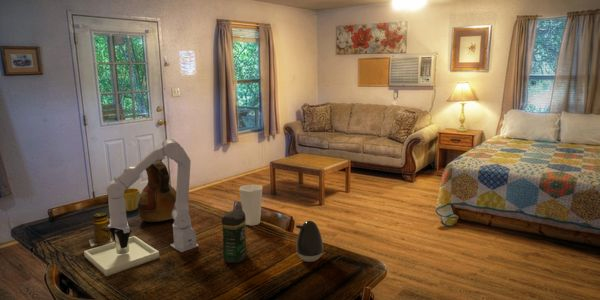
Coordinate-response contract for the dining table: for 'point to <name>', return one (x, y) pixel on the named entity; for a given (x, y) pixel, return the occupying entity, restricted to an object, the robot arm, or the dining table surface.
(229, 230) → the green squeeze bottle
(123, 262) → the tray
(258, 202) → the cup
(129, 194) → the plant pot
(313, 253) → the pump dispenser
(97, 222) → the condiment
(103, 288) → the dining table surface
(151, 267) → the dining table surface
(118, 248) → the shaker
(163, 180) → the ceramic pitcher
